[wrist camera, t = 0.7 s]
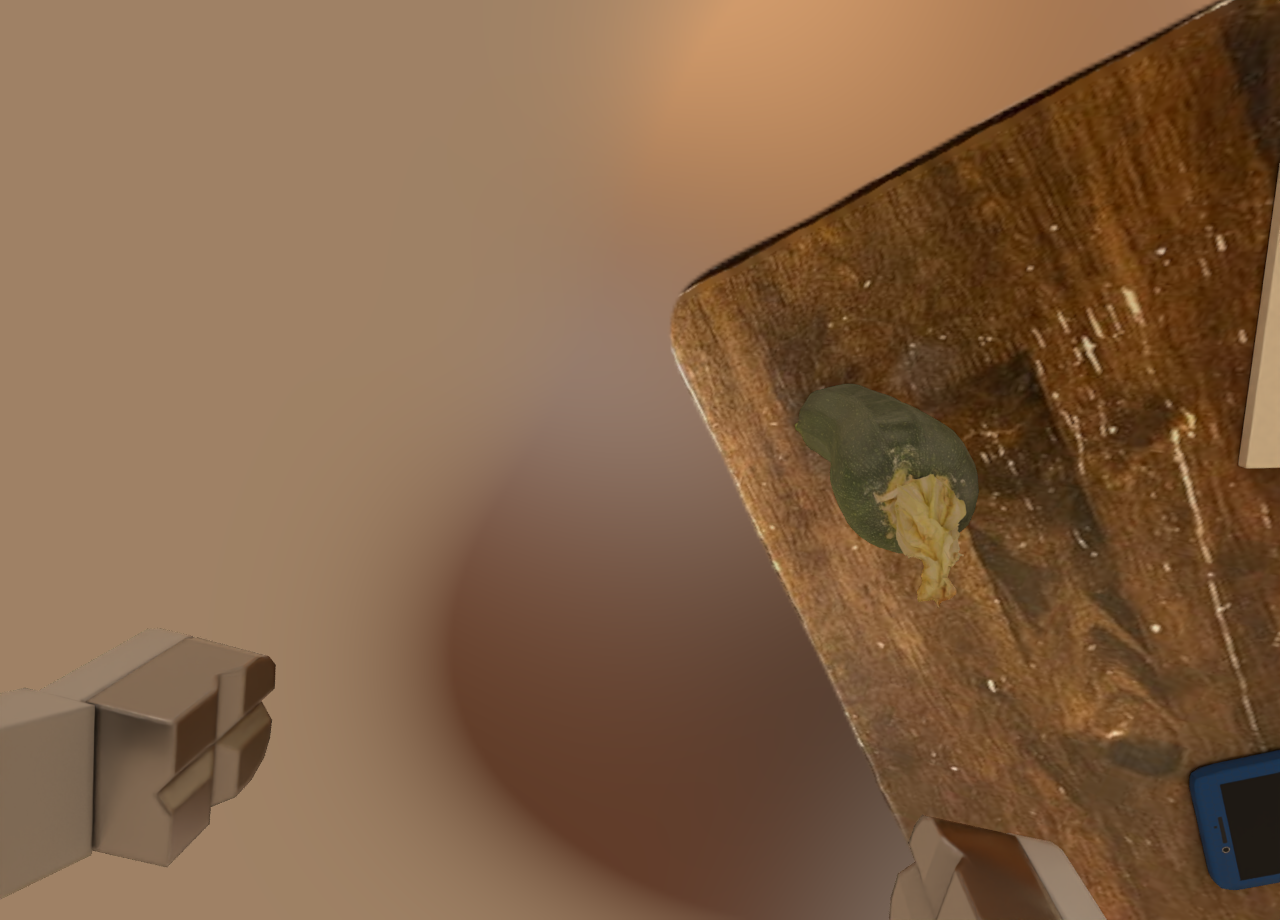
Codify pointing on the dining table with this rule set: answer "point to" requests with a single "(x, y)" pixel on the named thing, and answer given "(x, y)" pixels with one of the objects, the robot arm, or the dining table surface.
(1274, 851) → the cell phone
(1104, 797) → the dining table surface
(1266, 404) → the board
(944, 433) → the vegetable
